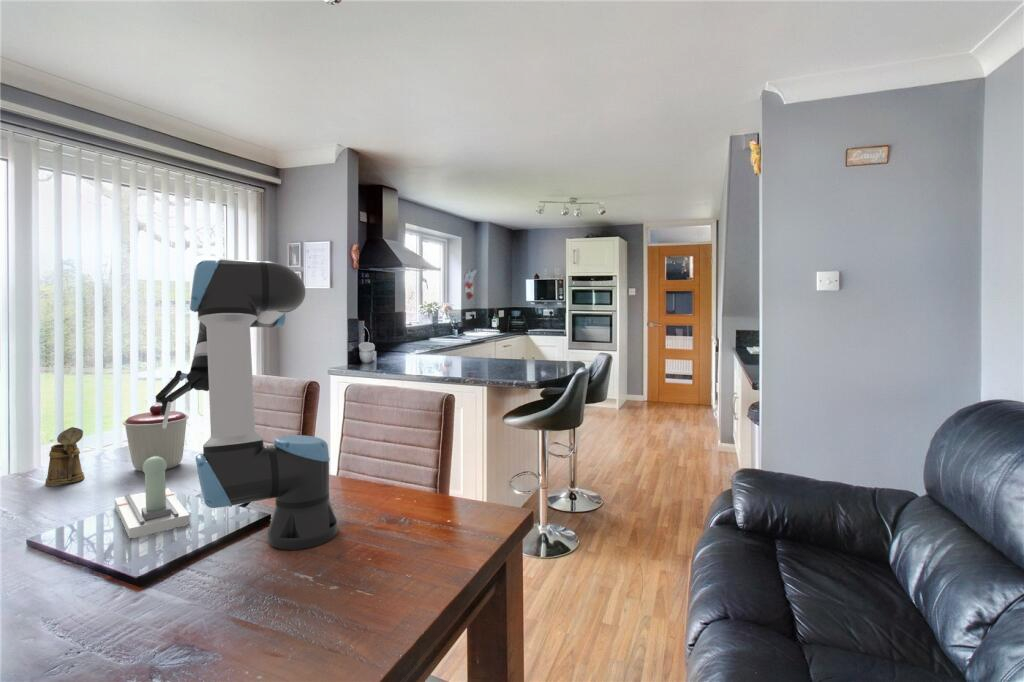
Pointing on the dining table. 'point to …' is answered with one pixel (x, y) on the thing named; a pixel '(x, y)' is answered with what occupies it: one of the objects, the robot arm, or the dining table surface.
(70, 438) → the wooden mug
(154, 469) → the fader knob
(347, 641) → the dining table surface
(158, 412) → the canister
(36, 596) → the dining table surface
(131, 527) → the fader console
